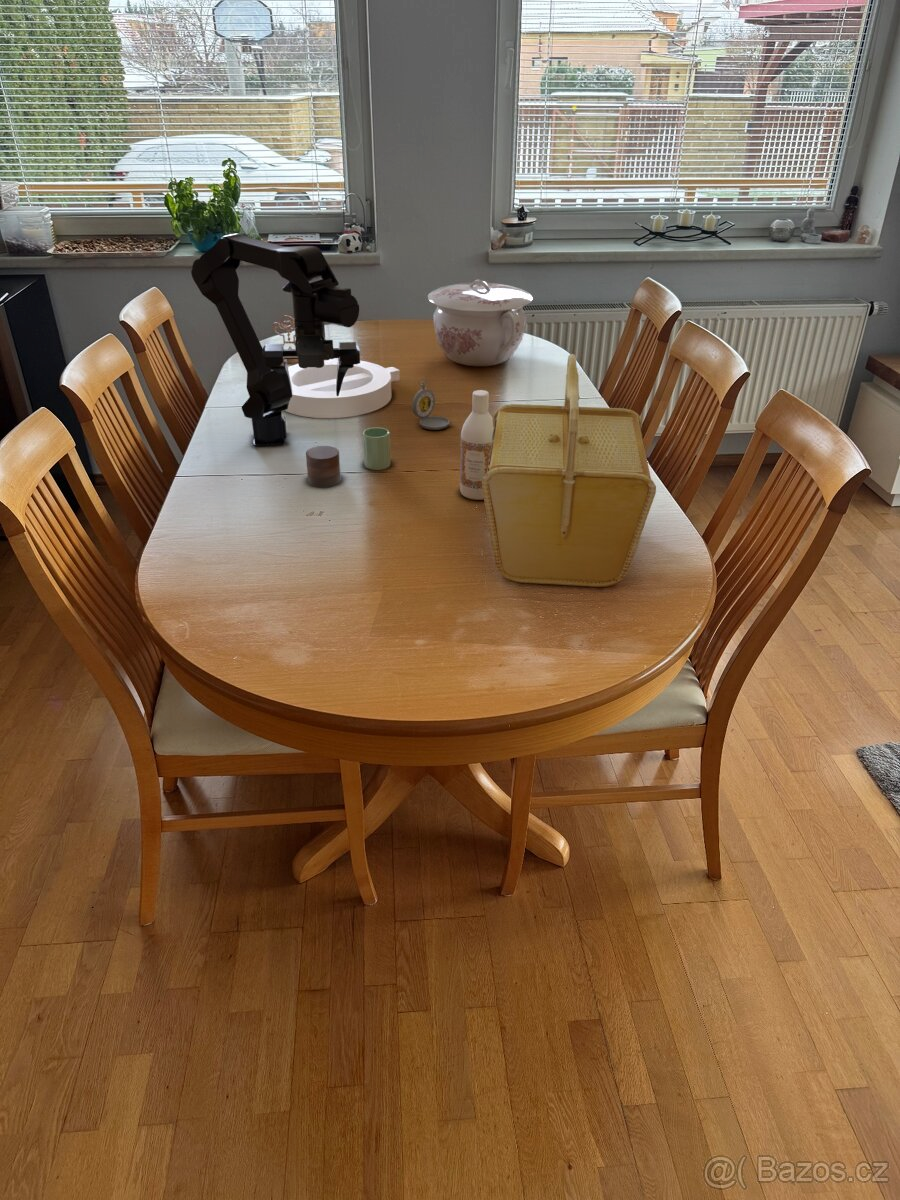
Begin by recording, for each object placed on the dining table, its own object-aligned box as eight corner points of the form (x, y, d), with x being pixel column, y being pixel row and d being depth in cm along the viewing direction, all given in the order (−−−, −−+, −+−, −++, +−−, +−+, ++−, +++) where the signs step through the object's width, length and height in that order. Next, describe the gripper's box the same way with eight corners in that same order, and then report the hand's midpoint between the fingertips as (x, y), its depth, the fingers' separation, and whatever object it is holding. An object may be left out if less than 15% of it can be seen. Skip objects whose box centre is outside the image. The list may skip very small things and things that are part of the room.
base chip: (308, 488, 170) (307, 479, 169) (307, 474, 176) (307, 465, 175) (341, 486, 171) (341, 477, 170) (339, 472, 177) (339, 463, 175)
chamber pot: (436, 341, 250) (435, 265, 239) (532, 346, 247) (536, 269, 236) (419, 373, 227) (418, 291, 216) (525, 379, 224) (530, 296, 213)
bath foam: (455, 498, 167) (456, 396, 156) (465, 483, 173) (467, 384, 162) (490, 503, 165) (494, 401, 155) (500, 487, 171) (504, 388, 160)
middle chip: (307, 479, 169) (306, 469, 168) (307, 465, 175) (306, 456, 174) (341, 477, 170) (340, 467, 169) (339, 463, 175) (338, 454, 174)
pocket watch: (446, 432, 194) (446, 388, 189) (409, 429, 196) (408, 385, 190) (453, 419, 201) (453, 376, 196) (417, 416, 202) (416, 373, 197)
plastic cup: (365, 470, 177) (363, 438, 174) (363, 459, 182) (361, 428, 178) (391, 469, 178) (390, 436, 174) (389, 458, 183) (387, 426, 179)
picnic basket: (490, 505, 165) (495, 346, 148) (629, 512, 162) (650, 351, 146) (478, 588, 140) (482, 408, 124) (642, 597, 138) (668, 416, 122)
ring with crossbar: (402, 381, 222) (402, 362, 220) (375, 421, 199) (374, 401, 197) (296, 374, 226) (295, 356, 224) (258, 413, 203) (255, 393, 201)
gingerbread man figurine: (309, 359, 237) (305, 314, 230) (305, 363, 234) (302, 318, 227) (276, 358, 238) (272, 313, 231) (273, 362, 234) (268, 317, 228)
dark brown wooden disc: (306, 469, 168) (306, 460, 167) (306, 456, 174) (305, 446, 172) (340, 467, 169) (339, 457, 168) (338, 454, 174) (338, 444, 173)
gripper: (257, 331, 160) (265, 412, 169) (359, 329, 163) (362, 409, 171) (260, 314, 170) (268, 392, 178) (357, 312, 172) (360, 389, 180)
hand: (314, 396), depth 177 cm, fingers open, 9 cm apart
